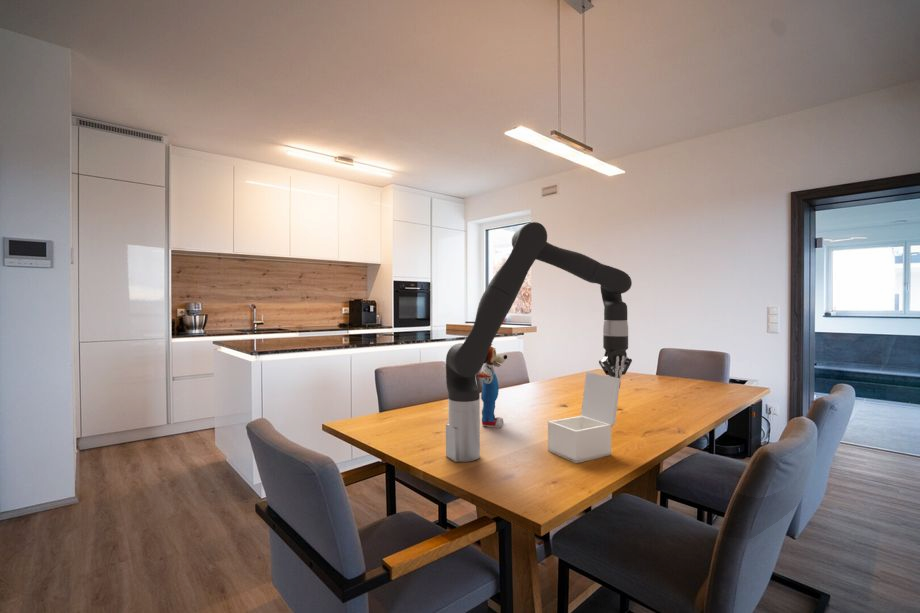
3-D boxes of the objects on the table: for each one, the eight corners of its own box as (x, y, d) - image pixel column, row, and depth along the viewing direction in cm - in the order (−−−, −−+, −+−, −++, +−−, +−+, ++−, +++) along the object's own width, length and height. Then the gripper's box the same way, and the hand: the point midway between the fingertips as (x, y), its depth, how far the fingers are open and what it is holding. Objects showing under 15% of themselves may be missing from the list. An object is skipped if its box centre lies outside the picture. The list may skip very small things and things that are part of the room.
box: (575, 463, 121) (575, 431, 121) (548, 450, 132) (548, 421, 132) (611, 454, 128) (611, 424, 128) (581, 443, 139) (581, 415, 139)
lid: (618, 378, 129) (621, 378, 129) (586, 372, 140) (589, 372, 141) (612, 425, 128) (615, 425, 128) (580, 415, 139) (583, 415, 140)
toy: (502, 439, 143) (502, 349, 143) (472, 437, 145) (472, 348, 145) (511, 413, 176) (511, 340, 176) (486, 412, 178) (486, 340, 178)
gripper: (610, 335, 131) (610, 392, 131) (639, 334, 137) (639, 388, 137) (591, 334, 137) (591, 388, 138) (620, 333, 144) (620, 384, 144)
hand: (615, 388), depth 137 cm, fingers closed
